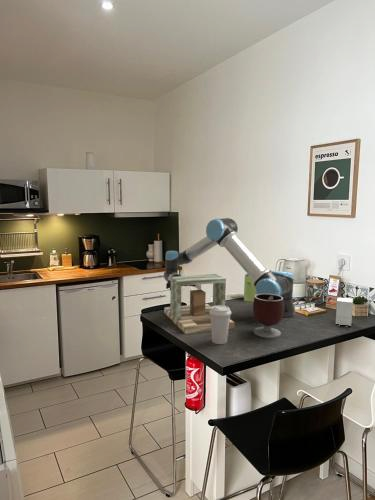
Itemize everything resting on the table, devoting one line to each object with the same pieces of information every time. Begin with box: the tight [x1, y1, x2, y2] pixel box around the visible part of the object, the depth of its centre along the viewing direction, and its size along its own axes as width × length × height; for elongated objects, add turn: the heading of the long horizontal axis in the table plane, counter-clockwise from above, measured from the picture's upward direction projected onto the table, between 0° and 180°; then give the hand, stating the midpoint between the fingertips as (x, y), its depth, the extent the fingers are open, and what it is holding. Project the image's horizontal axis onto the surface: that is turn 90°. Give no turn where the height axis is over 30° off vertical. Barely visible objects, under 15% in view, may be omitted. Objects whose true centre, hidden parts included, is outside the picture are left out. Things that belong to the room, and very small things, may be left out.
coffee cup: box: [209, 305, 232, 345], centre depth 167 cm, size 10×10×15 cm
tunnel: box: [163, 273, 236, 335], centre depth 195 cm, size 34×25×22 cm
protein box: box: [243, 272, 257, 303], centre depth 237 cm, size 10×15×16 cm
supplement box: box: [335, 297, 354, 327], centre depth 194 cm, size 7×7×13 cm
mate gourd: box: [252, 294, 284, 339], centre depth 178 cm, size 16×14×20 cm
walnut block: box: [189, 289, 206, 317], centre depth 196 cm, size 6×6×12 cm
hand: (188, 288), depth 207 cm, fingers open, 13 cm apart
